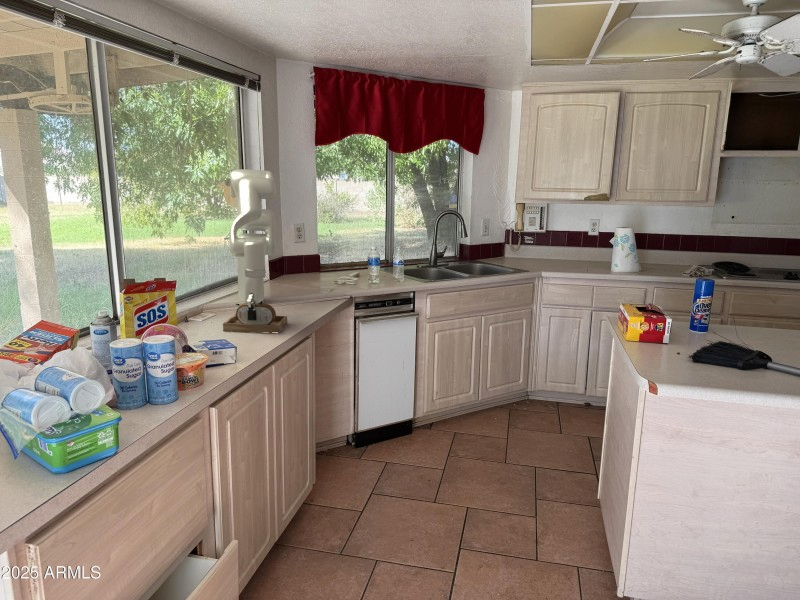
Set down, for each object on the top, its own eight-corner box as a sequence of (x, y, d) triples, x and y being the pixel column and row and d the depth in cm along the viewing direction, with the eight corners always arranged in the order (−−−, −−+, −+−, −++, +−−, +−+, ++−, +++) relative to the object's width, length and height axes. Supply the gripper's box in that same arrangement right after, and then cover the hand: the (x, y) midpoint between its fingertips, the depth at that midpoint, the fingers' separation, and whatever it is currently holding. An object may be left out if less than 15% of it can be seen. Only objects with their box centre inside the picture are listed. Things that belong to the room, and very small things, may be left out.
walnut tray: (236, 320, 216) (235, 313, 215) (287, 323, 215) (287, 316, 215) (223, 331, 202) (222, 323, 201) (277, 333, 201) (277, 326, 201)
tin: (276, 324, 210) (276, 303, 208) (274, 326, 206) (273, 305, 205) (237, 322, 210) (237, 301, 208) (235, 325, 207) (234, 303, 205)
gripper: (252, 268, 212) (253, 311, 216) (237, 277, 195) (239, 322, 199) (271, 269, 212) (271, 311, 216) (258, 278, 195) (259, 323, 199)
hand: (255, 316), depth 208 cm, fingers open, 9 cm apart
